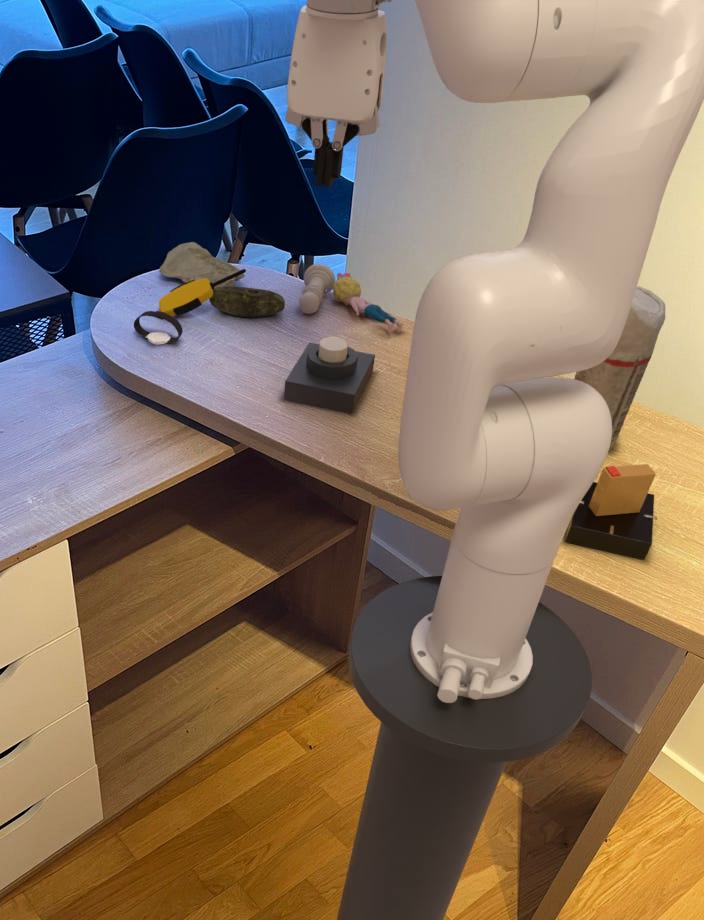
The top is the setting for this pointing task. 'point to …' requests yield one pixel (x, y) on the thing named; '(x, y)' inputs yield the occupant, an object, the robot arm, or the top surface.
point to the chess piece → (315, 287)
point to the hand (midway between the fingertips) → (326, 182)
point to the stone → (197, 265)
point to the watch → (158, 336)
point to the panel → (613, 528)
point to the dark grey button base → (329, 380)
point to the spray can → (627, 358)
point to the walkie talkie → (190, 295)
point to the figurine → (360, 301)
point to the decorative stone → (247, 301)
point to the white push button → (333, 349)
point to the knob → (621, 489)
